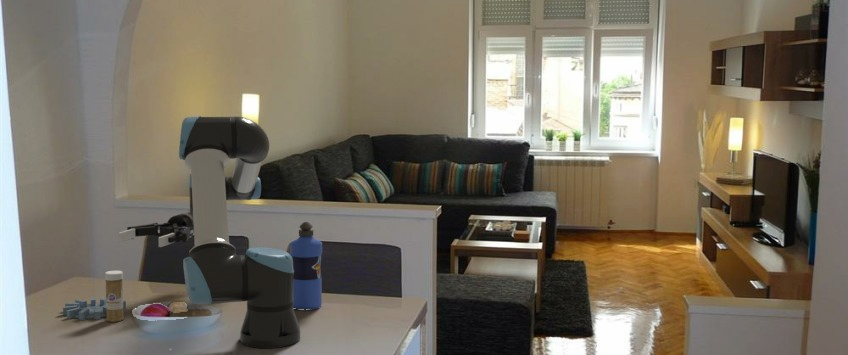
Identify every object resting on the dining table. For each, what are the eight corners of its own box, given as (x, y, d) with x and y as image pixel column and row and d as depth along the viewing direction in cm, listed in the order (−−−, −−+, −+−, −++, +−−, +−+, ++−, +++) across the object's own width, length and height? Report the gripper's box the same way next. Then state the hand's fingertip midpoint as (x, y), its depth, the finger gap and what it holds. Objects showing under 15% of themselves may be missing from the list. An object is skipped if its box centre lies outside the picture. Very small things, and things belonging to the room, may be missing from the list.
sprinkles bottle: (105, 322, 217) (104, 274, 215) (106, 318, 221) (105, 270, 220) (123, 321, 218) (122, 273, 217) (124, 316, 223) (123, 269, 221)
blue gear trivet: (110, 321, 218) (110, 313, 218) (51, 319, 219) (51, 311, 219) (135, 304, 235) (135, 297, 235) (80, 302, 236) (80, 295, 235)
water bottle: (325, 302, 240) (325, 220, 237) (317, 311, 231) (318, 226, 228) (294, 301, 241) (294, 219, 238) (286, 310, 232) (286, 224, 229)
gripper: (219, 241, 244) (177, 257, 224) (150, 233, 251) (103, 248, 231) (219, 217, 243) (176, 231, 223) (149, 210, 250) (102, 223, 230)
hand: (139, 240), depth 227 cm, fingers open, 13 cm apart
